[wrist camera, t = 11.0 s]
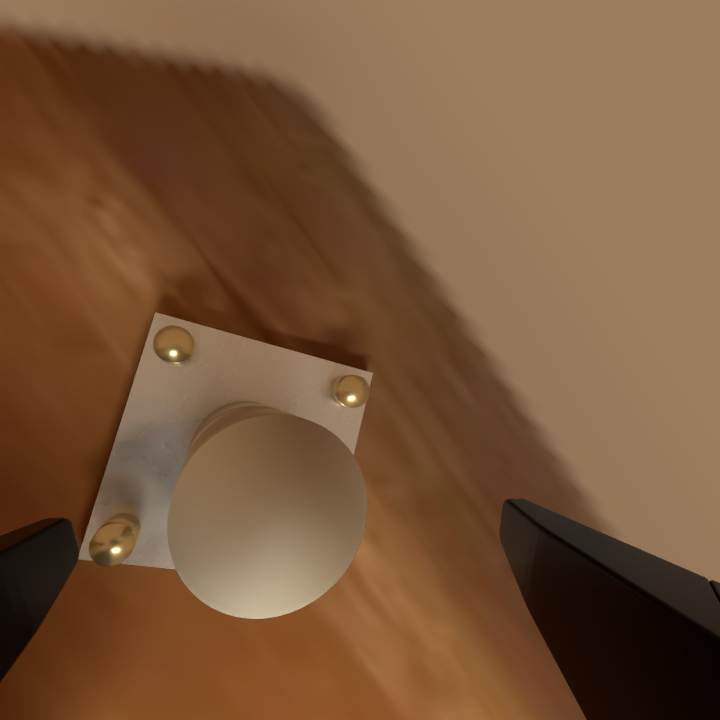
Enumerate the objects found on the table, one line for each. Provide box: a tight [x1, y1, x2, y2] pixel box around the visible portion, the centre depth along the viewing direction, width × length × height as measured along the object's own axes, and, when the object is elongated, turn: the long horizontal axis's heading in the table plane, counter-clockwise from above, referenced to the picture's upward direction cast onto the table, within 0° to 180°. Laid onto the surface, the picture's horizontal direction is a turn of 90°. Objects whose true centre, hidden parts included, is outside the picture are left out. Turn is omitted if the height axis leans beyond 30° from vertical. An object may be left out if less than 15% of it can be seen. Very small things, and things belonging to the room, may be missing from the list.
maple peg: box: [167, 401, 368, 619], centre depth 15 cm, size 5×5×10 cm
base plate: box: [79, 312, 373, 569], centre depth 19 cm, size 11×11×2 cm
